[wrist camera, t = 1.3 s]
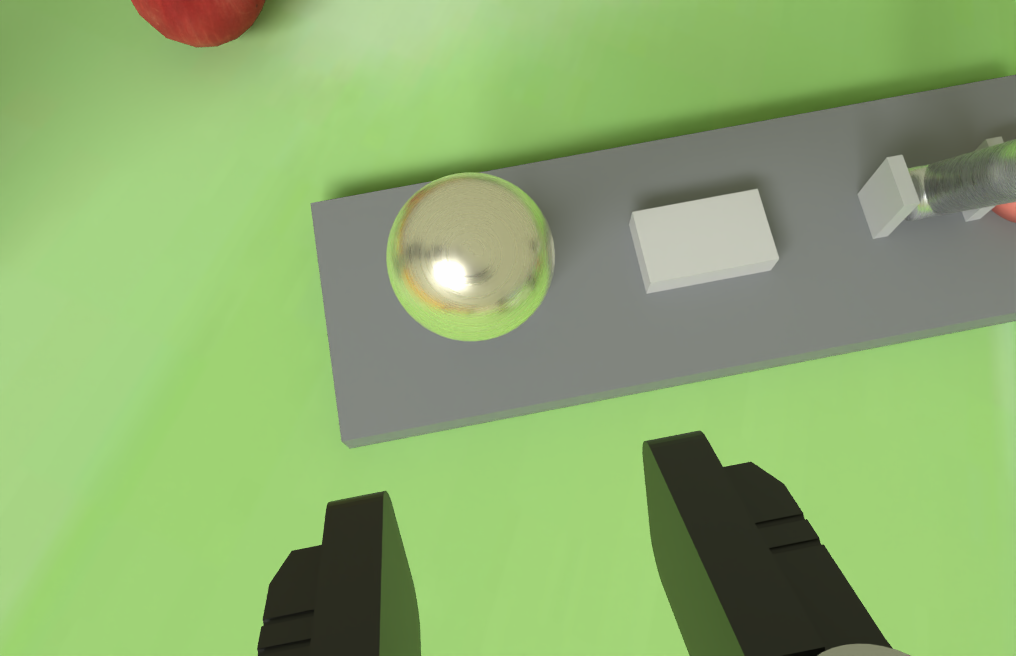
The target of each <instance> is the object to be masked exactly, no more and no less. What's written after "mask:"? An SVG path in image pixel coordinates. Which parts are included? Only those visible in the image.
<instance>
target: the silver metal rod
mask: <svg viewBox="0 0 1016 656" xmlns="http://www.w3.org/2000/svg"><path fill="white" fill-rule="evenodd" d="M908 171H909V174H910V176H911V179H912V182H913V185H914V187H915V190H916V193H917V195H918V198H919V201H920V204H919V205H918V206H917V207H916V208H915V209H914V210H913V211H912V212H911V213H910V214H909V215H908V216H907V217H906V218H905V220H907V221H912V220H918V219H923V218H928V217H934V216H939V215H945V214H950V213H956V212H961V211H967V210H973V209H978V208H984V207H990V206H995V205H1001V204H1006V203H1012V202H1016V139H1014V140H1011V141H1007V142H1004V143H1000V144H997V145H993V146H990V147H987V148H983V149H980V150H976V151H973V152H970V153H966V154H963V155H959V156H956V157H953V158H949V159H946V160H942V161H939V162H936V163H932V164H928V165H922V166H917V167H911V168H908Z"/></svg>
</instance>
